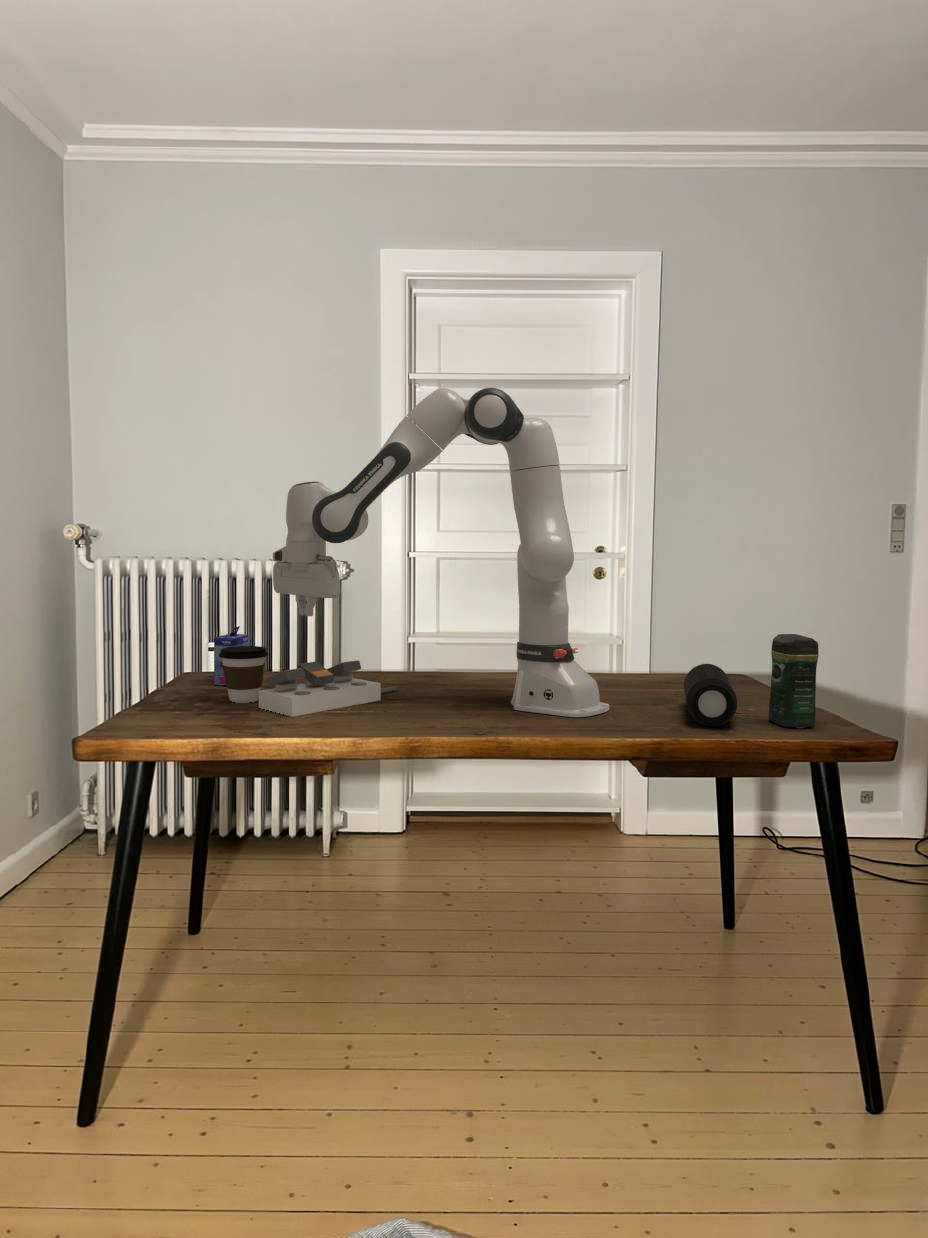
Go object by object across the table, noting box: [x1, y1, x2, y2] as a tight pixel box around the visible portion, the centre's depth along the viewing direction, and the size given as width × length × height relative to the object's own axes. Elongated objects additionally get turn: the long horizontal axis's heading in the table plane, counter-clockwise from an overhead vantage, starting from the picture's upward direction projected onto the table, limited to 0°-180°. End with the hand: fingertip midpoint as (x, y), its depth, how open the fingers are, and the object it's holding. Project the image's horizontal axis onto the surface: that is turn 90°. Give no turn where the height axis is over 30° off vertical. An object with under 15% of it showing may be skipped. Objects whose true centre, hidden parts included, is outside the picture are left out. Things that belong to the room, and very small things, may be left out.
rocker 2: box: [296, 661, 334, 686], centre depth 198 cm, size 7×5×2 cm
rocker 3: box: [326, 659, 362, 676], centre depth 204 cm, size 7×5×2 cm
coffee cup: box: [219, 645, 269, 704], centre depth 201 cm, size 11×11×12 cm
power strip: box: [258, 673, 398, 718], centre depth 201 cm, size 12×36×6 cm, turn 138°
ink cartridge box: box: [213, 625, 249, 686], centre depth 224 cm, size 10×6×14 cm, turn 171°
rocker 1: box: [266, 668, 306, 688], centre depth 193 cm, size 7×5×2 cm
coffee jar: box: [767, 633, 819, 729], centre depth 180 cm, size 10×8×19 cm
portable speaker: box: [683, 663, 738, 728], centre depth 188 cm, size 26×10×10 cm, turn 168°
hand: (306, 615), depth 199 cm, fingers closed
